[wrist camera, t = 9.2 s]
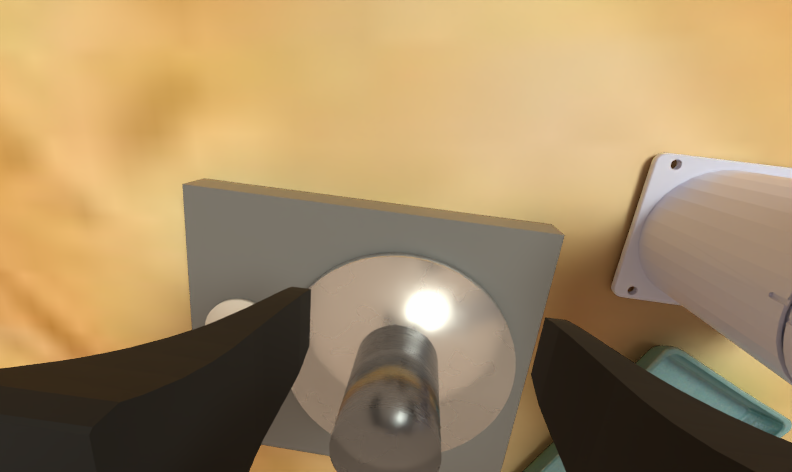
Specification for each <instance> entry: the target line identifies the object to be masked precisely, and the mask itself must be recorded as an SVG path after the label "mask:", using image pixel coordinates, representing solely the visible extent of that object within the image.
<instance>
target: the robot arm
mask: <svg viewBox="0 0 792 472" xmlns="http://www.w3.org/2000/svg"><path fill="white" fill-rule="evenodd" d="M674 160H676V161H677V165H676V166H675V167H674V168H673V169H672V168H671V163H672V161H674ZM632 286H634V288H633V290H632V291H630V292H628V289H629V288H630V287H632ZM611 290H612V292H613V293H614V294H616V295H617V296H619V297H624V298H631V299H638V300H645V301H653V302H660V303H667V304H674V305H681V306H683V307H685V308H686V309H687V310H689V311H690V312H692V313H693V314H694V315H696V316H697V317H698V318H700V319H701V320H703V321H704V322H705V323H707V324H708V325H709V326H711V327H712V328H714V329H715V330H716V331H718V332H719V333H720V334H722V335H723V336H725V337H726V338H727V339H729V340H730V341H732V342H733V343H734V344H736V345H737V346H738V347H740V348H741V349H743V350H744V351H745V352H747V353H748V354H749V355H751V356H752V357H754V358H755V359H756V360H758V361H759V362H760V363H762V364H763V365H765V366H766V367H767V368H769V369H770V370H772V371H773V372H774V373H776V374H777V375H778V376H780V377H781V378H783V379H784V380H785V381H787V382H788V383H789V384H791V385H792V168H788V167H779V166H771V165H763V164H755V163H746V162H738V161H730V160H722V159H713V158H705V157H697V156H688V155H680V154H672V153H660V154H658V155H656V156H655V157H654V158H653V160H652V162H651V165H650V169H649V172H648V175H647V178H646V181H645V184H644V187H643V190H642V193H641V196H640V199H639V202H638V205H637V208H636V211H635V214H634V218H633V221H632V224H631V227H630V230H629V233H628V236H627V239H626V242H625V245H624V248H623V251H622V254H621V257H620V260H619V264H618V267H617V270H616V273H615V276H614V279H613V282H612V285H611ZM310 310H311V289H308V288H299V287H289V288H287V289H284V290H282V291H280V292H278V293H276V294H274V295H272V296H269V297H267V298H265V299H263V300H261V301H259V302H257V303H255V304H253V305H251V306H249V307H247V308H245V309H242V310H240V311H238V312H236V313H233V314H231V315H229V316H226V317H224V318H222V319H219V320H217V321H215V322H212V323H210V324H207V325H204V326H202V327H199V328H196V329H193V330H190V331H187V332H184V333H181V334H178V335H175V336H172V337H169V338H165V339H161V340H157V341H153V342H150V343H146V344H142V345H138V346H135V347H131V348H126V349H122V350H117V351H113V352H108V353H103V354H98V355H92V356H87V357H81V358H76V359H70V360H63V361H56V362H49V363H41V364H33V365H26V366H18V367H11V368H1V369H0V472H249V470H250V468H251V465H252V463H253V461H254V458H255V456H256V454H257V452H258V450H259V448H260V446H261V444H262V441H263V439H264V437H265V436H266V434H267V432H268V430H269V428H270V426H271V425H272V423H273V421H274V419H275V417H276V415H277V414H278V412H279V410H280V408H281V406H282V404H283V403H284V401H285V399H286V397H287V395H288V393H289V392H290V390H291V388H292V386H293V384H294V382H295V380H296V378H297V376H298V375H299V372H300V370H301V367H302V365H303V362H304V359H305V357H306V354H307V351H308V348H309V345H310ZM531 376H532V380H533V384H534V388H535V392H536V396H537V400H538V404H539V407H540V409H541V412H542V414H543V417H544V419H545V422H546V424H547V427H548V429H549V432H550V434H551V437H552V439H553V441H554V444H555V446H556V449H557V451H558V454H559V456H560V458H561V461H562V463H563V466H564V468H565V471H566V472H792V443H791V442H789V441H786V440H784V439H781V438H779V437H777V436H774V435H772V434H770V433H767V432H765V431H763V430H761V429H759V428H756V427H754V426H752V425H750V424H747V423H745V422H743V421H741V420H739V419H736V418H734V417H732V416H730V415H728V414H726V413H724V412H722V411H720V410H718V409H715V408H713V407H711V406H710V405H708V404H706V403H704V402H702V401H700V400H698V399H696V398H694V397H692V396H690V395H688V394H687V393H685V392H683V391H681V390H679V389H677V388H675V387H674V386H672V385H670V384H668V383H667V382H665V381H663V380H662V379H660V378H658V377H657V376H655V375H653V374H651V373H650V372H648V371H646V370H645V369H643V368H642V367H640V366H638V365H637V364H635V363H634V362H632V361H630V360H629V359H627V358H626V357H624V356H623V355H621V354H620V353H618V352H616V351H615V350H613V349H612V348H610V347H609V346H607V345H606V344H604V343H603V342H601V341H600V340H598V339H597V338H595V337H594V336H592V335H591V334H589V333H588V332H586V331H584V330H583V329H581V328H580V327H578V326H576V325H575V324H573V323H571V322H569V321H567V320H561V319H553V318H545V321H544V325H543V329H542V333H541V337H540V341H539V345H538V349H537V353H536V357H535V361H534V365H533V369H532V373H531Z"/></svg>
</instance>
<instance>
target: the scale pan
mask: <svg viewBox="0 0 792 472" xmlns="http://www.w3.org/2000/svg"><path fill="white" fill-rule="evenodd" d="M308 289H311V310H310V345H309V348H308V351H307V354H306V357H305V359H304V362H303V365H302V367H301V370H300V372H299V375H298V376H297V378H296V380H295V382H294V384H293V386H292V388H291V389H292V391H293V393H294V395H295V397H296V399H297V400H298V402H299V403H300V405H301V406H302V408H303V409H304V410H305V411H306V412H307V414H308V415H309V416H310V417H311V418H312V419H313V420H314V421H315V422H316V423H317V424H318V425H319V426H321V427H322V428H323V429H324V430H326V431H327V432H329V433H330V434H331V435H332V432H333V429H334V426H335V422H336V419H337V416H338V413H339V410H340V406H341V403H342V400H343V397H344V393H345V390H346V387H347V384H348V381H349V377H350V374H351V371H352V368H353V364H354V361H355V358H356V355H357V352H358V348H359V346H360V344H361V342H362V341H363V339H364V338H365V337H366V336H367V335H368V334H369V333H371V332H372V331H374V330H376V329H378V328H381V327H384V326H390V325H400V326H406V327H409V328H412V329H415V330H417V331H418V332H420V333H422V334H423V335H424V336H425V337H427V338H428V340H429V341H430V342H431V343H432V345H433V346H434V348H435V350H436V353H437V358H438V379H439V405H440V431H441V452H444V451H447V450H450V449H453V448H455V447H457V446H459V445H462V444H464V443H466V442H467V441H469V440H471V439H472V438H474V437H476V436H477V435H478V434H479V433H481V432H482V431H483V430H484V429H486V428H487V427H488V426H489V425H490V424H491V423H492V422H493V421H494V420H495V418H496V417H497V416H498V414H499V413H500V412H501V410H502V409H503V407H504V405H505V403H506V401H507V399H508V398H509V395H510V392H511V389H512V386H513V382H514V377H515V366H516V357H515V350H514V344H513V341H512V337H511V334H510V331H509V328H508V326H507V323H506V321H505V319H504V317H503V315H502V312H501V310H500V309H499V307H498V306H497V304H496V303H495V301H494V300H493V298H492V297H491V296H490V295H489V294H488V293H487V292H486V291H485V289H484V288H483V287H482V286H481V285H479V284H478V283H477V282H476V281H475V280H474V279H472V278H471V277H470V276H468V275H467V274H465V273H464V272H462V271H461V270H459V269H457V268H455V267H453V266H451V265H449V264H447V263H445V262H443V261H440V260H437V259H434V258H431V257H428V256H423V255H418V254H414V253H404V252H382V253H374V254H369V255H363V256H360V257H357V258H354V259H351V260H348V261H346V262H344V263H342V264H339V265H337V266H335V267H334V268H332V269H331V270H329V271H327V272H326V273H324V274H323V275H322V276H321V277H320V278H318V279H317V280H316V281H315V282H314V283H313V284H312V285H311V286H310V287H309V288H308Z"/></svg>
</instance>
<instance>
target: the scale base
mask: <svg viewBox="0 0 792 472" xmlns="http://www.w3.org/2000/svg"><path fill="white" fill-rule="evenodd" d="M183 199H184V214H185V229H186V245H187V260H188V275H189V290H190V305H191V321H192V330H193V329H196V328H199V327H202V326H204V325H207V324H210V323H212V322H215V321H217V320H219V319H222V318H224V317H226V316H229V315H231V314H233V313H236V312H238V311H240V310H242V309H245V308H247V307H249V306H251V305H253V304H255V303H257V302H259V301H261V300H263V299H265V298H267V297H269V296H272V295H274V294H276V293H278V292H280V291H282V290H284V289H287V288H289V287H299V288H309V287H310V286H311V285H312V284H313V283H314V282H315V281H316V280H317V279H318V278H320V277H321V276H322V275H323V274H324V273H326V272H327V271H329V270H331V269H332V268H334V267H335V266H337V265H339V264H342V263H344V262H346V261H348V260H351V259H354V258H357V257H360V256H363V255H369V254H374V253H382V252H404V253H414V254H418V255H423V256H428V257H431V258H434V259H437V260H440V261H443V262H445V263H447V264H449V265H451V266H453V267H455V268H457V269H459V270H461V271H462V272H464V273H465V274H467V275H468V276H470V277H471V278H472V279H474V280H475V281H476V282H477V283H478V284H479V285H481V286H482V287H483V288H484V289H485V291H486V292H487V293H488V294H489V295H490V296H491V297H492V298H493V300H494V301H495V303H496V304H497V306H498V307H499V309H500V310H501V312H502V315H503V317H504V319H505V321H506V323H507V326H508V328H509V331H510V334H511V337H512V341H513V344H514V350H515V357H516V366H515V377H514V382H513V386H512V389H511V392H510V395H509V398H508V399H507V401H506V403H505V405H504V407H503V409H502V410H501V412H500V413H499V414H498V416H497V417H496V418H495V420H494V421H493V422H492V423H491V424H490V425H489V426H488V427H487V428H486V429H484V430H483V431H482V432H481V433H479V434H478V435H477V436H476V437H474V438H472V439H471V440H469V441H467V442H466V443H464V444H462V445H459V446H457V447H455V448H453V449H450V450H447V451H444V452H441V465H440V469H439V471H438V472H501V468H502V465H503V461H504V457H505V454H506V450H507V446H508V442H509V439H510V435H511V431H512V428H513V424H514V420H515V417H516V413H517V409H518V405H519V402H520V398H521V394H522V391H523V387H524V383H525V380H526V376H527V372H528V368H529V365H530V361H531V357H532V354H533V350H534V346H535V343H536V339H537V335H538V331H539V328H540V324H541V320H542V317H543V313H544V309H545V306H546V302H547V298H548V294H549V291H550V287H551V283H552V280H553V276H554V272H555V269H556V265H557V261H558V257H559V254H560V250H561V246H562V243H563V239H564V234H563V233H561V232H560V231H559V230H558V229H557V228H555V227H554V226H553V225H552V224H544V223H537V222H529V221H522V220H514V219H506V218H499V217H491V216H484V215H476V214H469V213H461V212H454V211H446V210H438V209H431V208H423V207H416V206H408V205H401V204H393V203H385V202H378V201H370V200H363V199H355V198H348V197H340V196H333V195H325V194H317V193H310V192H302V191H295V190H287V189H280V188H272V187H265V186H257V185H249V184H242V183H234V182H227V181H219V180H212V179H201V180H197V181H193V182H189V183H185V184H183ZM330 439H331V434H330V433H329V432H327V431H326V430H324V429H323V428H322V427H321V426H319V425H318V424H317V423H316V422H315V421H314V420H313V419H312V418H311V417H310V416H309V415H308V414H307V412H306V411H305V410H304V409H303V408H302V406H301V405H300V403H299V402H298V400H297V399H296V397H295V395H294V393H293V391H292V389H291V390H290V392H289V393H288V395H287V397H286V399H285V401H284V403H283V404H282V406H281V408H280V410H279V412H278V414H277V415H276V417H275V419H274V421H273V423H272V425H271V426H270V428H269V430H268V432H267V434H266V436H265V437H264V439H263V441H262V444H261V445H267V446H273V447H279V448H285V449H291V450H297V451H303V452H309V453H315V454H321V455H327V456H330V453H329V443H330Z"/></svg>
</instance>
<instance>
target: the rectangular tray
mask: <svg viewBox="0 0 792 472" xmlns="http://www.w3.org/2000/svg"><path fill="white" fill-rule="evenodd" d="M635 364H637V365H638V366H640V367H642V368H643V369H645V370H646V371H648V372H650V373H651V374H653V375H655V376H657V377H658V378H660V379H662V380H663V381H665V382H667V383H668V384H670V385H672V386H674V387H675V388H677V389H679V390H681V391H683V392H685V393H687V394H688V395H690V396H692V397H694V398H696V399H698V400H700V401H702V402H704V403H706V404H708V405H710V406H711V407H713V408H715V409H718V410H720V411H722V412H724V413H726V414H728V415H730V416H732V417H734V418H736V419H739V420H741V421H743V422H745V423H747V424H750V425H752V426H754V427H756V428H759V429H761V430H763V431H765V432H767V433H770V434H772V435H774V436H777V437H779V438H781V437H782V436H783V435H785V434H786V433H788V432H789V431H790V429H791V427H792V423H791V421H790V420H789V419H787V418H786V417H784V416H783V415H781V414H780V413H778V412H776V411H775V410H773V409H771V408H770V407H768V406H766V405H765V404H763V403H761V402H760V401H758V400H757V399H755V398H754V397H752V396H751V395H749V394H747V393H746V392H744V391H742V390H741V389H739V388H738V387H736V386H735V385H733V384H732V383H731V382H729V381H727V380H726V379H725V378H723V377H722V376H720V375H718V374H717V373H715V372H714V371H712V370H711V369H710V368H708V367H707V366H705V365H704V364H702V363H701V362H699V361H698V360H696V359H695V358H693V357H692V356H690V355H689V354H687V353H686V352H684V351H683V350H681V349H679V348H676V347H673V346H655V347H653V348H651V349H650V350H649V351H648V352H647V353H646V354H645V355H644V356H643V357H642V358H641V359H640V360H638V361H637V362H636V363H635ZM523 472H566V471H565V468H564V466H563V463H562V461H561V458H560V456H559V454H558V451H557V449H556V446H555V444H554V442H553V443H552V444H551V445H550V446H549V447H548V448H547V449H546V450H544V451H543V452H542V453H541V454H540V455H539V456H538V457H537V458H536V459H535V460H534V461H533V462H532V463H531V464H530V465H529V466H528V467H527V468H526V469H525V470H524V471H523Z"/></svg>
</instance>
